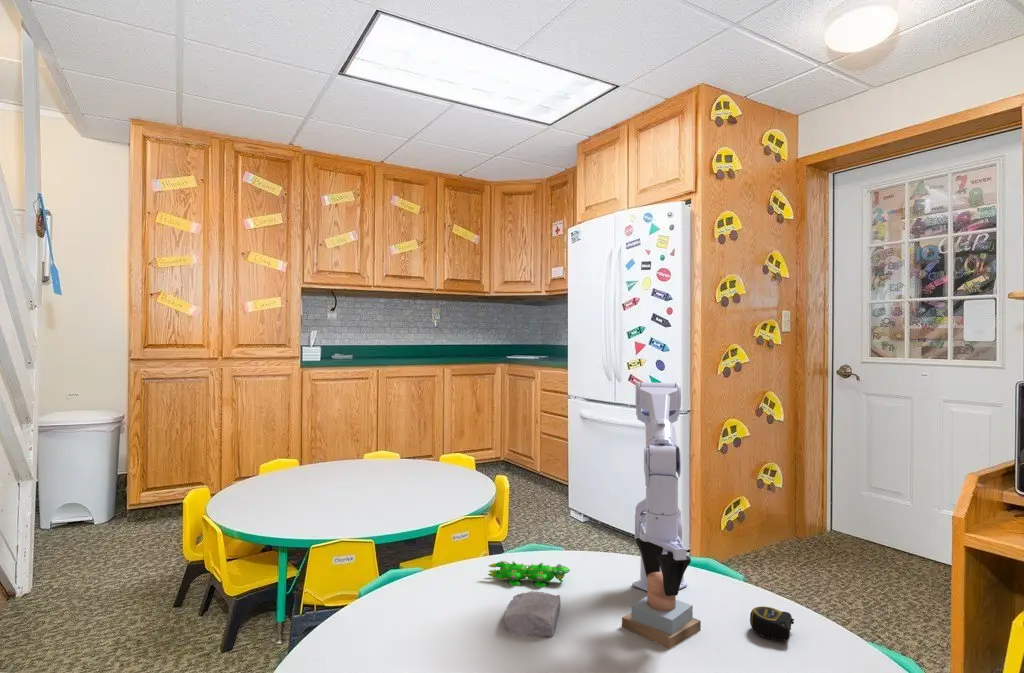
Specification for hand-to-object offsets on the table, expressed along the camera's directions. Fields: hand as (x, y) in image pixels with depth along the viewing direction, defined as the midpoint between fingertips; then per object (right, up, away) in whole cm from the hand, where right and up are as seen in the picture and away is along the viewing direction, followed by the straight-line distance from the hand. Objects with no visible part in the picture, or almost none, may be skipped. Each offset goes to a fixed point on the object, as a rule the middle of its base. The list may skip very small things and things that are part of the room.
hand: (661, 586), depth 102 cm
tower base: (0, -8, 0) cm, 8 cm away
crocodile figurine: (-24, -8, +20) cm, 32 cm away
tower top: (0, -6, 0) cm, 6 cm away
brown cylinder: (0, -3, 0) cm, 3 cm away
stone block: (-24, -8, +2) cm, 25 cm away
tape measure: (+20, -8, -2) cm, 22 cm away
